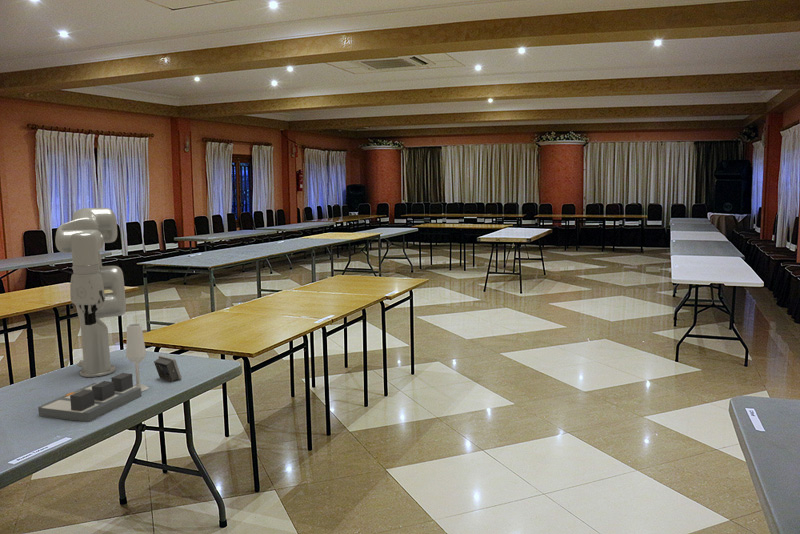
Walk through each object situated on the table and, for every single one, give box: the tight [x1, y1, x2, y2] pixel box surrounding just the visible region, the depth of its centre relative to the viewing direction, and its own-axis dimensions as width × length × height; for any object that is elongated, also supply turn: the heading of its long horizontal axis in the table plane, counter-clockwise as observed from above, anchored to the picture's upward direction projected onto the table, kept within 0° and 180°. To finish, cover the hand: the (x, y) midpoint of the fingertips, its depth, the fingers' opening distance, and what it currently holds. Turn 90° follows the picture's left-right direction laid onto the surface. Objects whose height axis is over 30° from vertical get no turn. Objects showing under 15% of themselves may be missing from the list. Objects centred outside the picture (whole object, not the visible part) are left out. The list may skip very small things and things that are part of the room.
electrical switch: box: [153, 354, 182, 383], centre depth 228 cm, size 9×5×9 cm, turn 57°
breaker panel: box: [37, 372, 142, 423], centre depth 202 cm, size 20×25×8 cm
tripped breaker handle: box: [92, 380, 115, 400], centre depth 200 cm, size 4×6×4 cm
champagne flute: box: [125, 323, 149, 392], centre depth 217 cm, size 7×7×24 cm
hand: (90, 324), depth 198 cm, fingers closed
